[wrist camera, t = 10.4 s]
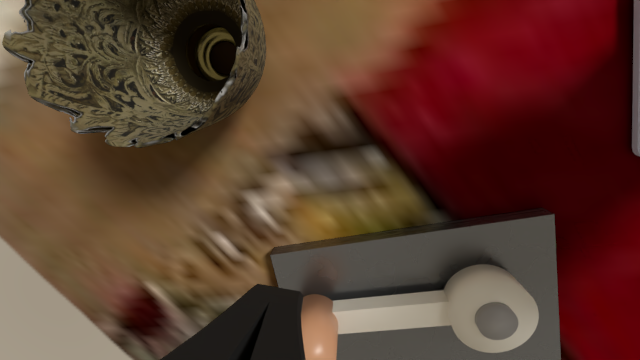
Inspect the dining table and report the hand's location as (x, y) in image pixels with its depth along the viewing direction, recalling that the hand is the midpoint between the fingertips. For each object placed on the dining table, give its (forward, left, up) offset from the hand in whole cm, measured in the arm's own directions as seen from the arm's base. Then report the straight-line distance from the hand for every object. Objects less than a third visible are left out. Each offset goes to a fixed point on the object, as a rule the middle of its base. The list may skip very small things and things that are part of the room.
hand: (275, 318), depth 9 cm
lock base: (-4, +10, -9) cm, 14 cm away
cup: (+3, -9, -10) cm, 14 cm away
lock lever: (-4, +6, -8) cm, 11 cm away
